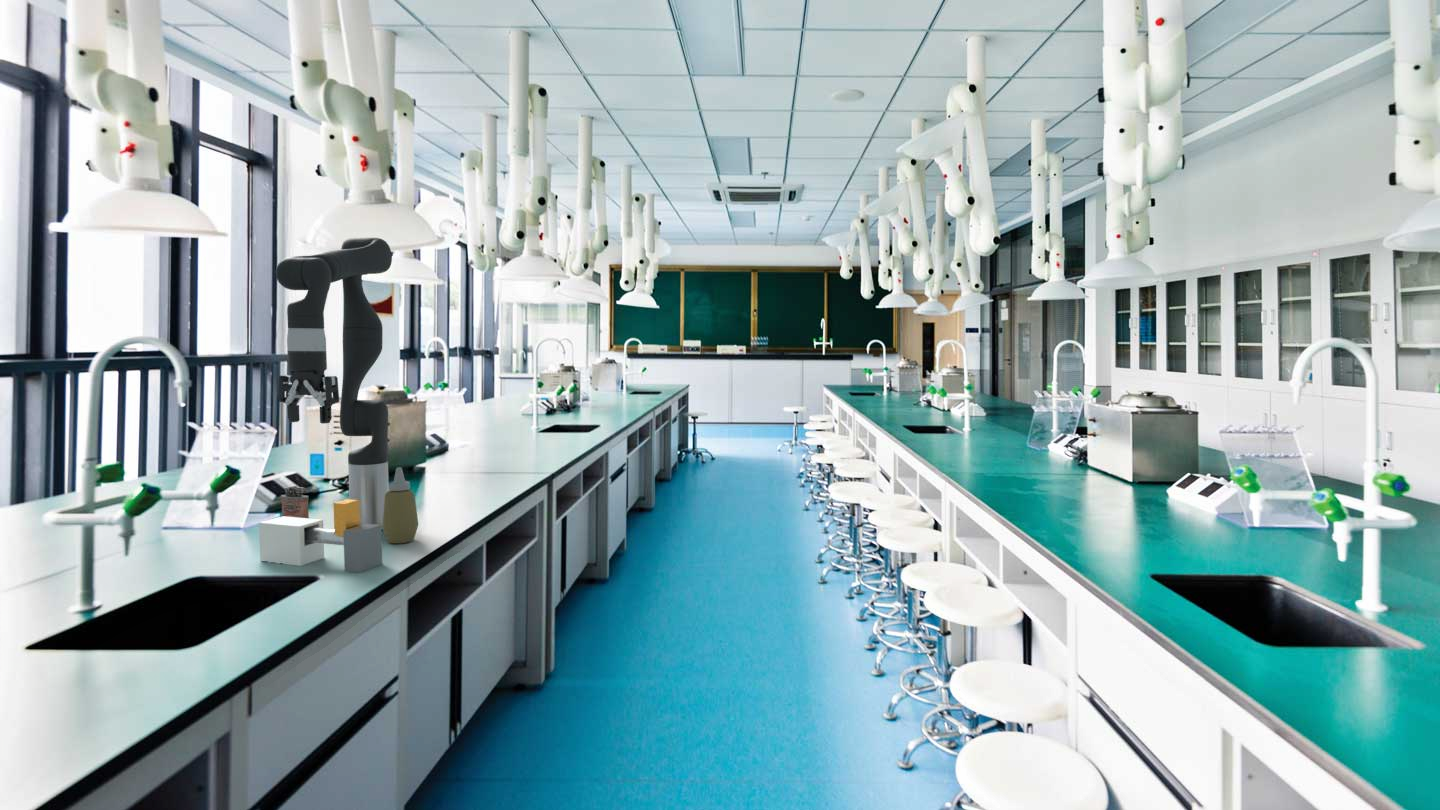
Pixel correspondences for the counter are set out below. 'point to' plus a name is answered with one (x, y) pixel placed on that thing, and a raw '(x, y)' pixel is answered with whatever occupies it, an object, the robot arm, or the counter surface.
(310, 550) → the white box
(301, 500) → the lighter
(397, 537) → the squeeze bottle
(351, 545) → the gray box
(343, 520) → the slip tube
